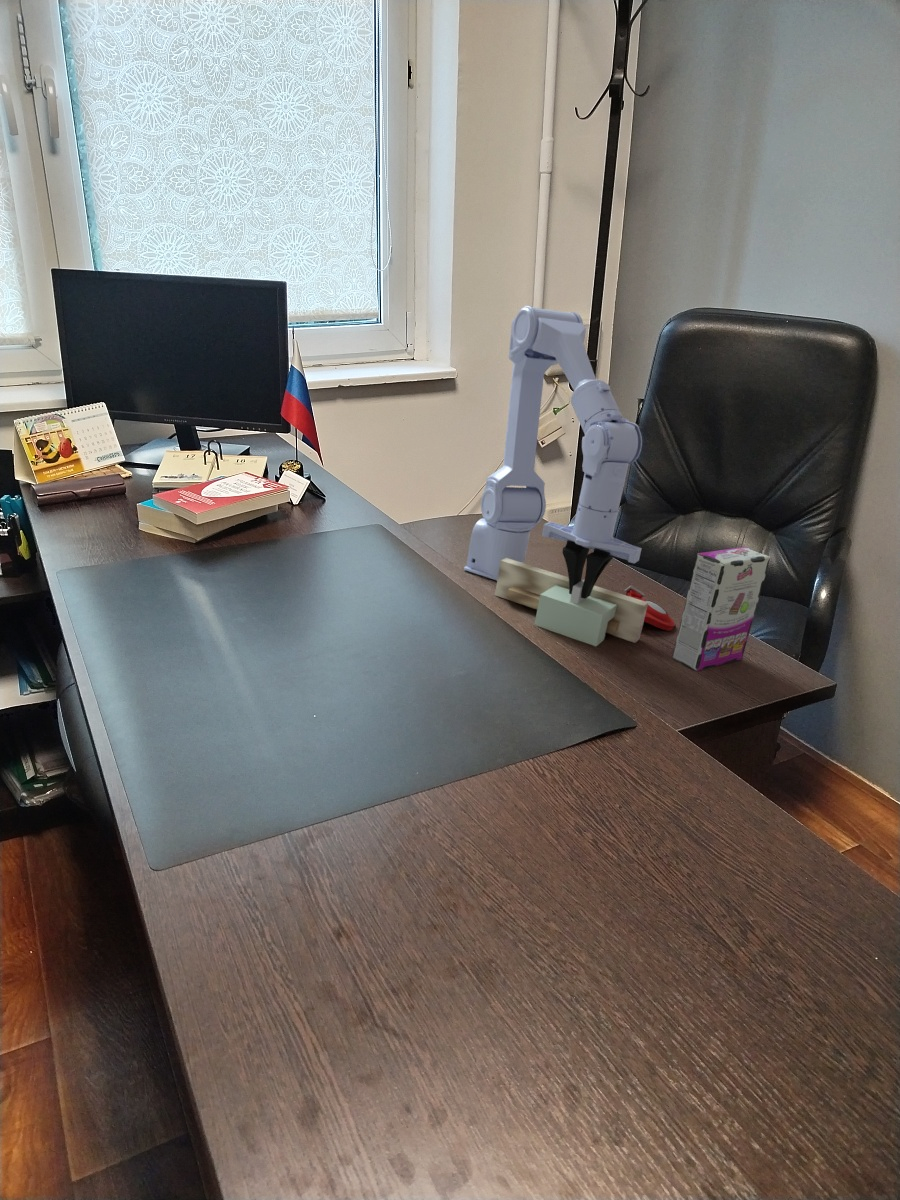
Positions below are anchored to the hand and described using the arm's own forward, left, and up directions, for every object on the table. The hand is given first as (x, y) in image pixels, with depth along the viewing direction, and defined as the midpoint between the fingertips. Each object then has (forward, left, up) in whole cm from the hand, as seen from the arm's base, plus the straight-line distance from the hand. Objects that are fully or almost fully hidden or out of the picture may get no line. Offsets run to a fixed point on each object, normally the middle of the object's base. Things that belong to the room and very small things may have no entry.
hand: (579, 594), depth 124 cm
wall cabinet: (0, 0, -6) cm, 6 cm away
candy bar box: (+19, +6, -6) cm, 21 cm away
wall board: (-3, +4, -6) cm, 8 cm away
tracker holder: (+6, +15, -6) cm, 17 cm away
